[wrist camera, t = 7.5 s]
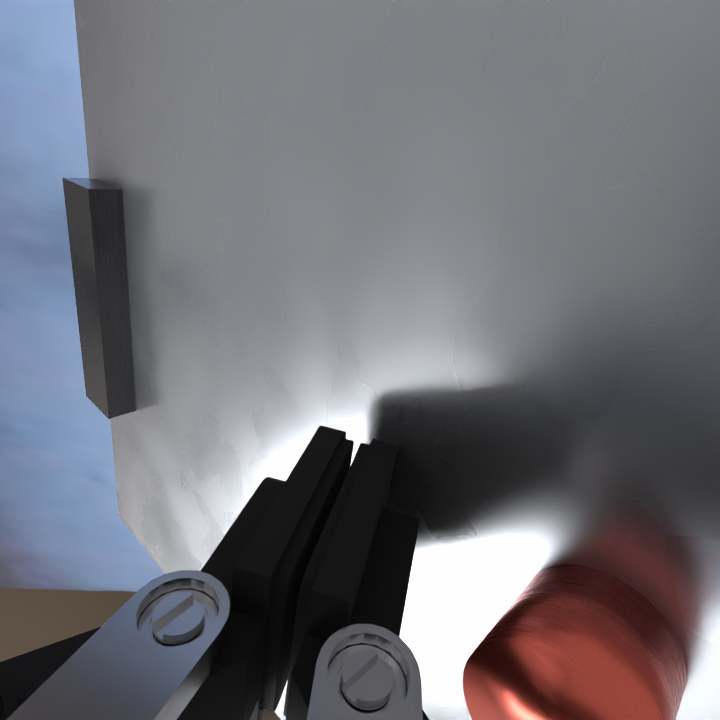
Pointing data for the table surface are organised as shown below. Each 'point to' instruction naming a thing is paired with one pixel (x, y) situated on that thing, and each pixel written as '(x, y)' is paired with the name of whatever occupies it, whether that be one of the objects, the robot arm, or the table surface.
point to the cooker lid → (428, 312)
